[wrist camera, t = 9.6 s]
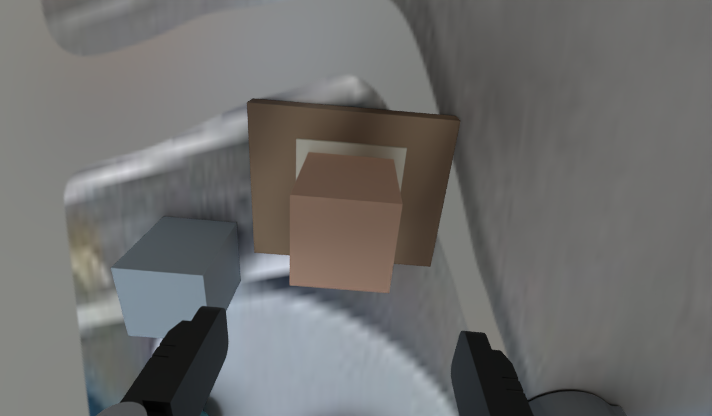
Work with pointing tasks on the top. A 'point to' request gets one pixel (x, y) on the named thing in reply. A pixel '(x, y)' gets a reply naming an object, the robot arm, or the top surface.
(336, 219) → the terracotta block
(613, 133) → the top surface
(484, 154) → the top surface
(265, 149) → the board
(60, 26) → the top surface
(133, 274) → the slate block
